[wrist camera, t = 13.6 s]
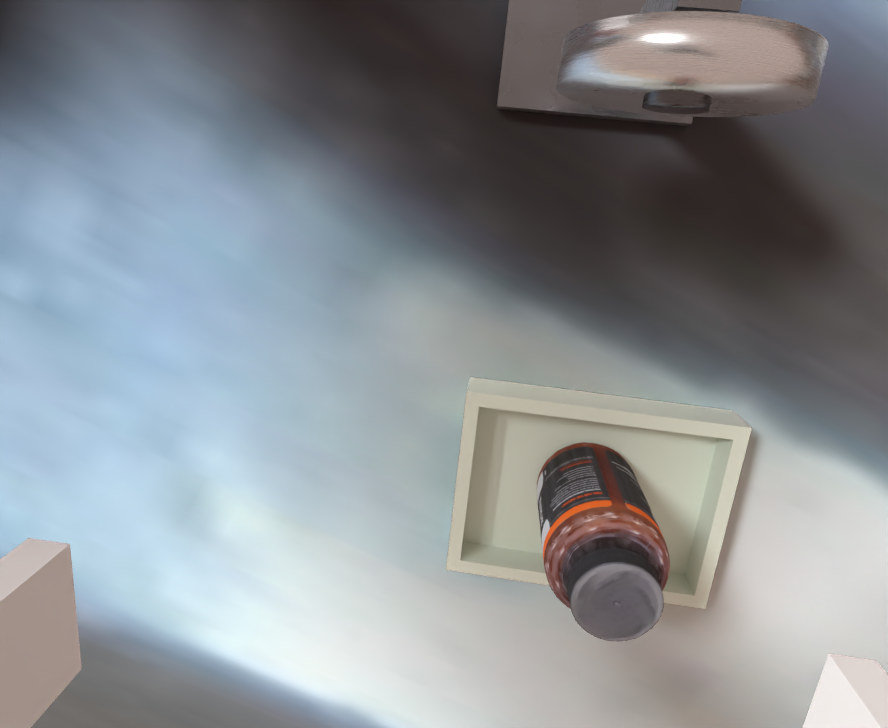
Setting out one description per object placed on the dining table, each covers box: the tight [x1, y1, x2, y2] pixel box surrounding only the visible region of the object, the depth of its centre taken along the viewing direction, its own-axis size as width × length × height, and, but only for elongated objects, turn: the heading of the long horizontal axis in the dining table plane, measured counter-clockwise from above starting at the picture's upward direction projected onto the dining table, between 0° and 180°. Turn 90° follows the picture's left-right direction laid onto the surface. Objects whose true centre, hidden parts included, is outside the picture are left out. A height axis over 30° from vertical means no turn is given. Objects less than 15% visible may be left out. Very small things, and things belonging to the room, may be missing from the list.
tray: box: [446, 377, 752, 609], centre depth 36 cm, size 16×12×3 cm
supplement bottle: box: [537, 442, 670, 641], centre depth 31 cm, size 6×6×11 cm
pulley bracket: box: [497, 0, 828, 126], centre depth 24 cm, size 12×7×14 cm, turn 84°
